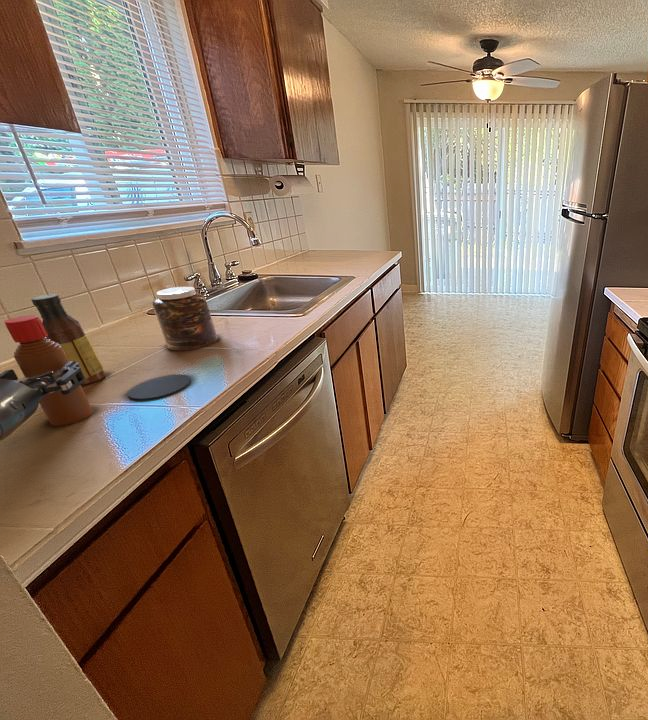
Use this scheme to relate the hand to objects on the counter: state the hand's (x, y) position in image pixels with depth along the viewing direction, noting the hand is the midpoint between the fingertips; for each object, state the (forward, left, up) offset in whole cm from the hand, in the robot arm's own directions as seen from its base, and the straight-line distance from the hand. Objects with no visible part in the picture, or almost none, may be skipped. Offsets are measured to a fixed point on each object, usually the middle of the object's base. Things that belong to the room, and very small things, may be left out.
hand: (45, 369), depth 72 cm
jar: (-4, +39, -11) cm, 40 cm away
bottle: (0, +1, -10) cm, 11 cm away
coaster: (+8, +13, -10) cm, 18 cm away
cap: (0, +1, +6) cm, 6 cm away
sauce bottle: (-12, +16, -11) cm, 23 cm away
